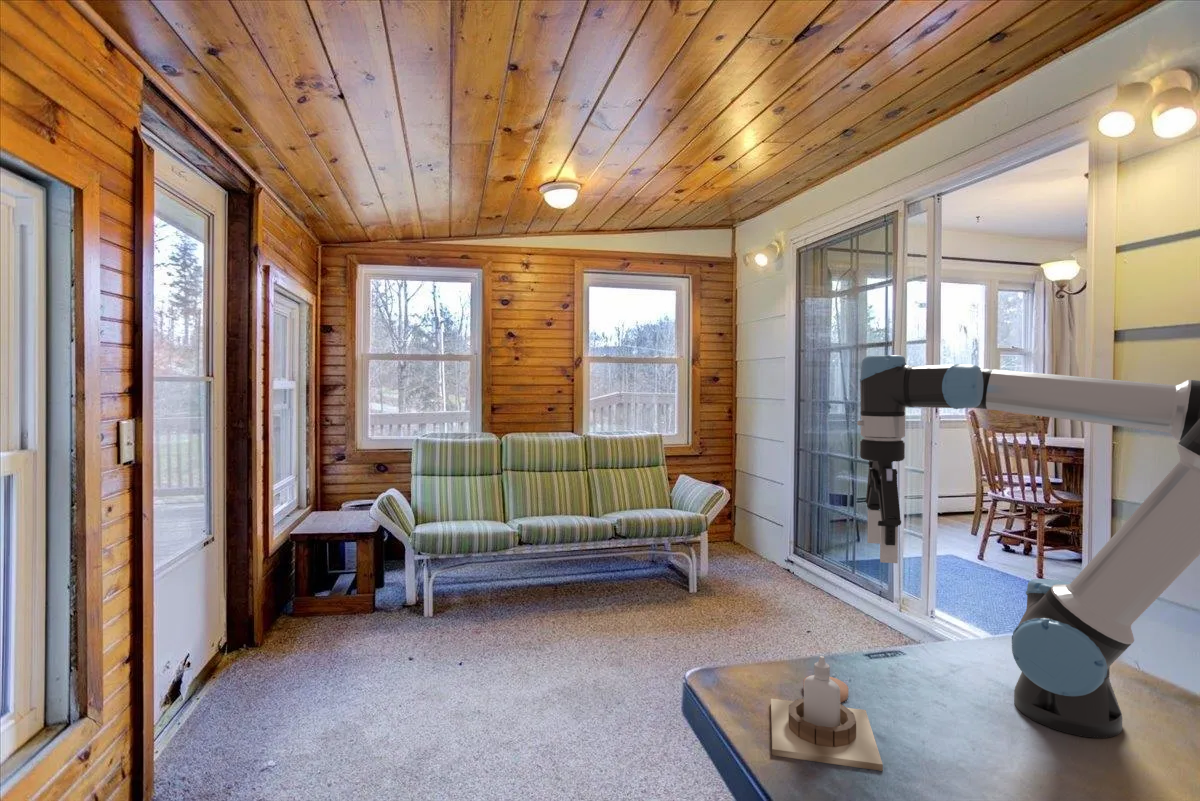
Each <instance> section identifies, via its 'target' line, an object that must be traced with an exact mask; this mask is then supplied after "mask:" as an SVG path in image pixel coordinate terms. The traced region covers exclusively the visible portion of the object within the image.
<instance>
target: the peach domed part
mask: <svg viewBox="0 0 1200 801" xmlns="http://www.w3.org/2000/svg"><path fill="white" fill-rule="evenodd" d="M812 675H813V674H812ZM812 675H808V676H806V677H805V678H804V679H803V682H802V684H803V685H802V686H803V687H802V688H803V689H802V691H803V692H804V681H805V679H806V678H807V677H809V676H812ZM829 679H831V680H832V681H834V682H835V683H836V684H837V685H838V686H839V688H840V704H842V703H843V702H846V701H847V700H848V698H849V686H848V685H847V684H846V683H845V682H844V681H842V680H840V679H839V678H836V677H834V676H830V678H829Z"/></svg>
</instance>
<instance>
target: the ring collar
mask: <svg viewBox="0 0 1200 801" xmlns="http://www.w3.org/2000/svg"><path fill="white" fill-rule="evenodd" d="M770 715H771V716H770V718H771V723H770V724H771V752H772V753H771V754H772V756H775V757H783V758H789V759H795V760H802V761H811V762H817V763H825V764H831V765H839V766H845V767H850V768H851V767H852V768H861V769H867V770H872V771H880V772H882V771H883V772H884V764H883V761H882V758H881V754H880V752H879V748H878V745H877V741H876V739H875V738H876V737H875V735H874V733H873V729H872V727H871V722H870V719H869V716H868V713H867V710H866V709H861V708H851V707H846V705H843V704H842V703H840V726H836V727H824V726H817V725H814V724H812V723H809V722H807V721H804V697H802V698H797V699H795V700H793V701H792V700H784V699H777V698H776V699H775V698H770Z"/></svg>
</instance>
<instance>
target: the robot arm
mask: <svg viewBox="0 0 1200 801" xmlns="http://www.w3.org/2000/svg"><path fill="white" fill-rule="evenodd" d="M860 369H861V370H860V379H859V383H860V387H859V388H860V419H861V420H857V421H856V423H857V426H860V436H861V437H863V438H862V439H861V440H860V445H859V446H860V449H859V450H860V451H859V452H860V454H859V456H860V458H861V459H862V460H865V461H868V462H867V463H868V472H867V485H866V497H865V503H866V507H867V543H868V544H879V562H880V563H882V564H883V563H886V564H898V562H899V560H898V559H899V558H898V556H899V555H898V554H899V553H898V552H899V550H898V549H899V546H898V545H899V540H898V537H899V536H898V535H899V533H898V532H899V529H898V527H899V526H901V525H902V520H901V511H900V510H901V509H900V499H899V498H900V497H899V488H898V487H899V486H898V470H897V468H893V465H892V464H893V462H902V461H904V460H905V458H906V457H905V450H906V449H905V448H906V446H905V445H906V444H905V443H906V442H904V440H902V439H903V438H904V437H905V436H906V412H905V411H906V408H907V407H908V408H935V409H937V408H938V409H940V408H941V409H953V410H958V409H959V410H960V409H973V408H974V409H980V410H990V411H1000V412H1007V413H1014V414H1022V415H1031V416H1038V417H1046V418H1052V419H1061V420H1069V421H1077V422H1085V423H1093V424H1101V425H1109V426H1115V427H1123V428H1131V429H1138V430H1145V431H1146V430H1147V431H1154V432H1163V433H1168V434H1170V436H1172V437H1173V438H1174V439H1175V440H1177V441H1179V442H1178V443H1177V444H1176V448H1177V451H1178V454H1179V461H1178V462H1177V464H1176V465H1175V466H1174V467H1173V468H1172V470H1170V471H1169V473H1167V475H1166V476H1165V478H1163V479H1162V480H1161V482H1159V484H1158V485H1157V486H1156V487H1155V488H1154V490H1152V491H1151V493H1150V494H1149V495H1148V496H1147V498H1146V499H1145V500H1144V501H1143V502H1142V503H1141V504H1140V505H1139V507H1137V509H1135V511H1134V512H1133V513H1132V514H1131V516H1130V517H1128V519H1127V520H1126V521H1125V522H1124V523H1123V525H1121V526H1120V527H1119V529H1118V530H1117V531H1116V532H1115V533H1114V534H1113V535H1112V537H1110V539H1109V540H1108V541H1107V542H1106V543H1105V545H1104V546H1103V547H1102V548H1101V549H1100V550H1099V551H1098V553H1097V554H1096V555H1095V556H1094V557H1093V558H1092V559H1091V560H1090V561H1089V562H1088V564H1087V565H1086V566H1085V567H1084V568H1083V569H1082V570H1081V571H1080V572H1079V574H1077V576H1076V577H1075V578H1074V579H1073V580H1072V581H1065V580H1057V579H1049V578H1047V579H1046V578H1033V579H1031V580H1029V581H1028V583H1027V587H1026V590H1025V595H1026V608H1025V612H1024V614H1023V616H1022V618H1021V619H1020V621H1019V623H1018V625H1017V626H1016V627H1015V628H1014V631H1013V632H1012V635H1011V653H1012V656H1013V659H1014V662H1015V663H1016V666H1017V667H1018V669H1019V670H1020V671H1021V673H1020V675H1019V678H1018V679H1017V681H1016V685H1015V687H1014V690H1013V691H1014V692H1013V702H1014V705H1015V707H1016V709H1018V711H1020V713H1021V714H1023V715H1025V717H1027V718H1029V719H1031V720H1033V721H1034V722H1036V723H1039V724H1041V725H1043V726H1045V727H1047V728H1051V729H1053V730H1056V731H1059V732H1063V733H1066V734H1070V735H1074V736H1079V737H1086V738H1094V739H1095V738H1097V739H1100V738H1101V739H1102V738H1104V739H1106V738H1113V737H1117V736H1118V735H1120V734H1121V733H1122V731H1123V713H1122V709H1121V708H1120V706H1119V702H1118V699H1117V697H1116V694H1115V692H1114V688H1113V687H1112V683H1111V681H1110V680H1111V678H1110V670H1111V669H1110V667H1111V666H1112V665H1113V663H1115V662H1116V660H1118V659H1119V657H1121V655H1122V654H1123V653H1124V652H1126V650H1127V649H1128V648H1129V647H1131V645H1132V644H1133V643H1134V642H1135V637H1134V634H1133V630H1132V625H1133V624H1134V622H1136V621H1137V620H1138V618H1139V617H1141V616H1142V615H1143V613H1144V612H1145V611H1146V610H1147V609H1148V608H1149V607H1150V606H1151V605H1152V604H1153V603H1154V602H1155V601H1156V600H1157V599H1158V598H1159V597H1160V596H1161V595H1162V594H1163V593H1164V592H1165V591H1166V590H1167V589H1168V588H1169V587H1170V585H1172V583H1174V581H1176V580H1177V578H1179V576H1181V574H1183V572H1184V571H1185V570H1186V569H1187V568H1188V567H1189V566H1190V565H1192V563H1193V562H1194V561H1195V560H1196V559H1197V558H1198V557H1199V556H1200V380H1196V379H1195V380H1194V379H1187V380H1185V381H1182V382H1180V384H1167V383H1154V382H1145V381H1135V380H1134V381H1133V380H1132V381H1131V380H1119V379H1109V378H1101V377H1098V378H1097V377H1086V376H1085V377H1084V376H1076V375H1065V374H1064V375H1063V374H1055V373H1054V374H1052V373H1042V372H1030V371H1029V372H1028V371H1018V370H1006V369H996V368H994V369H992V368H985V367H980V366H979V365H977V364H964V363H954V364H931V365H928V364H927V365H908V364H907V363H906V358H905V357H904V356H903V355H900V354H894V355H893V354H891V355H890V354H889V355H886V354H885V355H880V354H879V355H869V356H866V357H864V358H863V359H862V361H861V366H860Z"/></svg>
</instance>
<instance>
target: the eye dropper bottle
mask: <svg viewBox="0 0 1200 801" xmlns="http://www.w3.org/2000/svg"><path fill="white" fill-rule="evenodd" d="M813 665H814V666H813V672H814V674H812V676H811V675H808V676H809V677H808V676H806V677H807V678H806V677H805V678H806V679H805V678H804V679H805V681H804V680H803V681H804V691H803V698H804V721H807V722H809V723H812V724H814V725H817V726H824V727H836V726H840V704H841V703H840V688H839V686H838V685H837V684H836V683H835V682H834V681H832V680H831V679H829V678H830V677H831V676H830V675H831V673H830V672H831V671H830V670H831V669H830V668H831V666H830V664H829V663H827V662H826V659H825V656H824V655H820V656H819V658H818V661H817V662H814V664H813Z"/></svg>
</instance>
